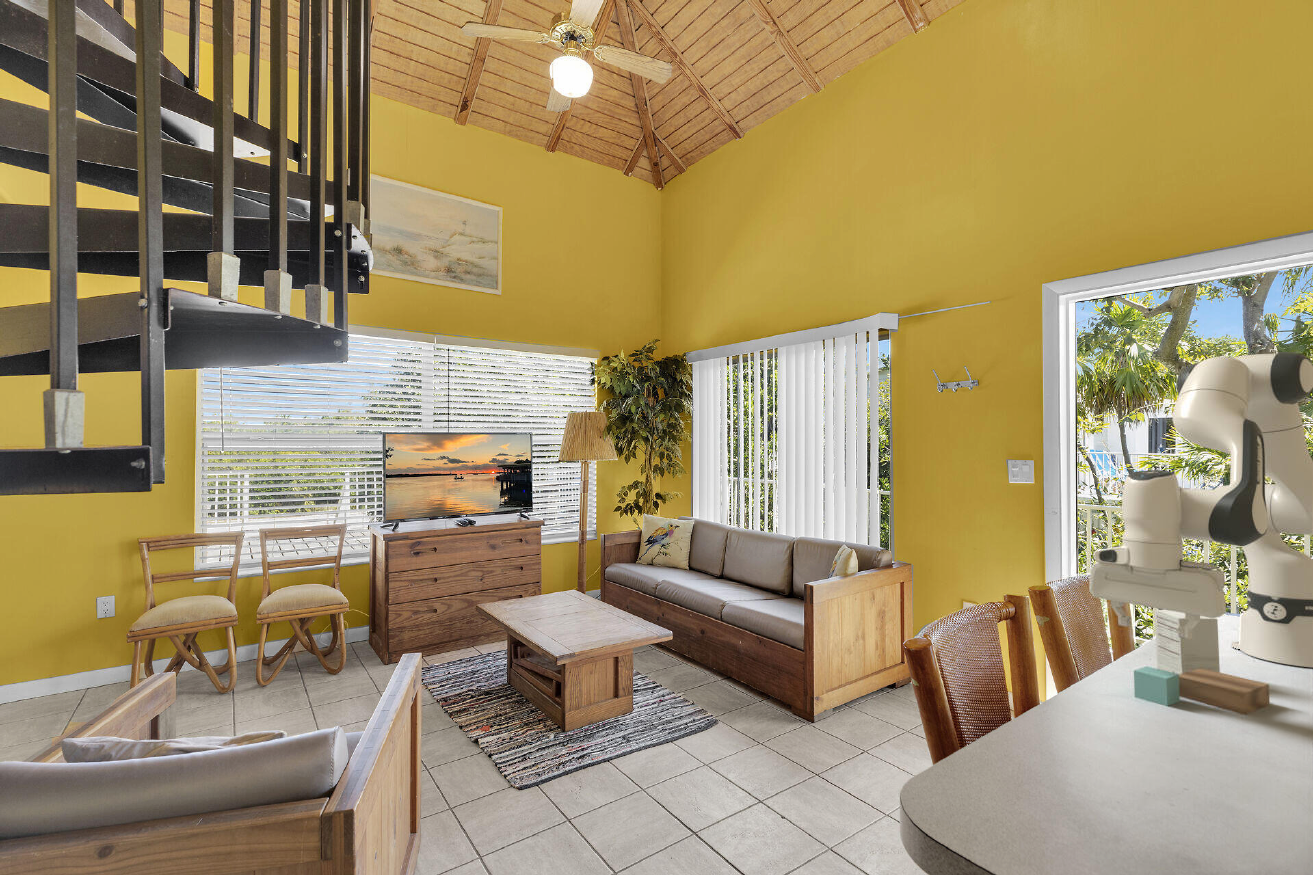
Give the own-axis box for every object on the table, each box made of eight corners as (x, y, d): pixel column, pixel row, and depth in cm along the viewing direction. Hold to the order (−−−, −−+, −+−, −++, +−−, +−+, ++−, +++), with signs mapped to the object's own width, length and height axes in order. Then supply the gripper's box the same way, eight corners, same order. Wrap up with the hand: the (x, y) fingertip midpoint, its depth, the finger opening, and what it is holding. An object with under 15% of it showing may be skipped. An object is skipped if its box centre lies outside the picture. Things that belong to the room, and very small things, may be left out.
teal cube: (1147, 692, 117) (1146, 666, 117) (1179, 701, 113) (1178, 674, 113) (1134, 697, 115) (1133, 670, 115) (1167, 706, 110) (1166, 678, 111)
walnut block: (1201, 688, 120) (1200, 667, 120) (1269, 706, 111) (1268, 684, 111) (1175, 697, 116) (1174, 675, 116) (1244, 716, 107) (1243, 693, 107)
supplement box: (1192, 669, 130) (1190, 609, 130) (1221, 682, 123) (1219, 618, 123) (1155, 668, 131) (1153, 608, 131) (1181, 680, 123) (1179, 617, 124)
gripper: (1231, 563, 107) (1234, 643, 107) (1100, 549, 125) (1102, 617, 124) (1216, 566, 104) (1218, 648, 103) (1084, 550, 122) (1085, 621, 121)
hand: (1154, 631), depth 114 cm, fingers open, 8 cm apart
